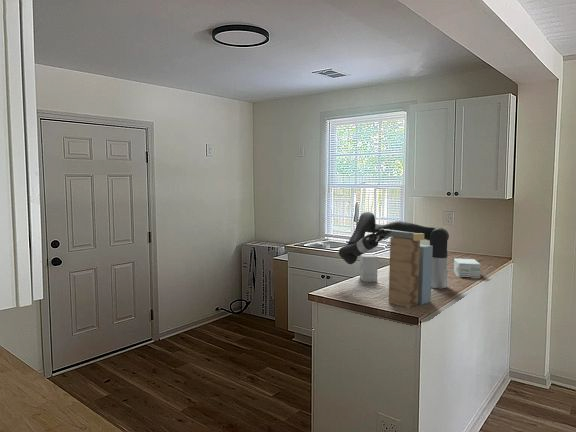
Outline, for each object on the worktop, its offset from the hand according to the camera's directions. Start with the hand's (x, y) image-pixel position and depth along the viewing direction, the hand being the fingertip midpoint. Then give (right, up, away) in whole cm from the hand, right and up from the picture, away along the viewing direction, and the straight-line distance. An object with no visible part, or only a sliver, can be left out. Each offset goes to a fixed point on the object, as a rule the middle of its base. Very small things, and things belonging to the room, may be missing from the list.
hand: (389, 230), depth 215 cm
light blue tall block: (+14, -35, +1) cm, 38 cm away
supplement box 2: (+64, -31, +62) cm, 94 cm away
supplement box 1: (-2, -31, +45) cm, 55 cm away
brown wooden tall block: (+6, -35, -5) cm, 36 cm away
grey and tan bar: (+4, -3, -5) cm, 7 cm away
